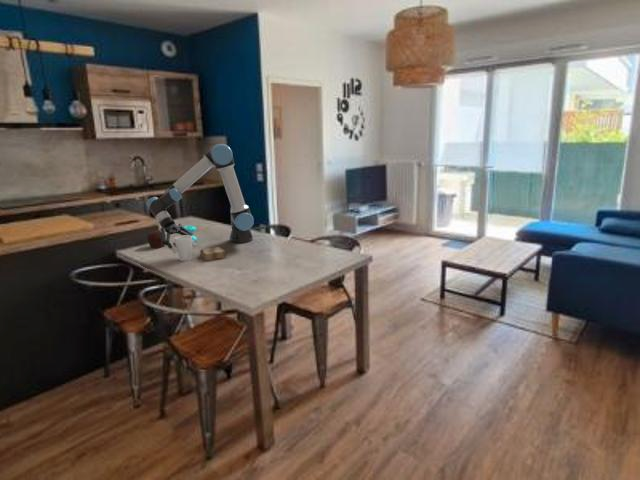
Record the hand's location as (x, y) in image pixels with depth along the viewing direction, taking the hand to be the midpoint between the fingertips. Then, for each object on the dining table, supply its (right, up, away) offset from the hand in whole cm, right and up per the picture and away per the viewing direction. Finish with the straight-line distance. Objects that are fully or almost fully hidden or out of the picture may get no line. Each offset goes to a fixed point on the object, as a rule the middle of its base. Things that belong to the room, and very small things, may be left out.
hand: (185, 249), depth 233 cm
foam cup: (-1, -6, +3) cm, 7 cm away
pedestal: (+14, -5, +6) cm, 16 cm away
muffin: (-27, +1, +29) cm, 40 cm away
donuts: (-10, +4, +39) cm, 41 cm away
